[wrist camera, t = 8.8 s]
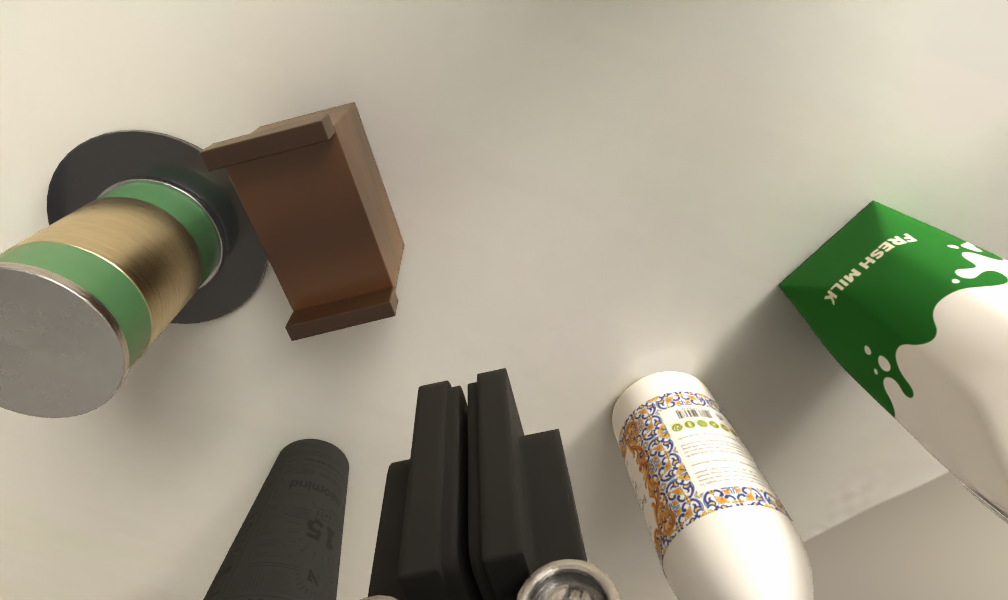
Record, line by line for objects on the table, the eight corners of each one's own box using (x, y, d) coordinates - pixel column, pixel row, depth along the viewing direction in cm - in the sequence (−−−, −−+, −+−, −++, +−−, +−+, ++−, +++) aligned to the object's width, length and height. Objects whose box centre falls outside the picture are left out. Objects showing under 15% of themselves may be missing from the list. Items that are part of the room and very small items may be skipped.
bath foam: (600, 383, 38) (724, 720, 20) (704, 355, 38) (921, 675, 20) (619, 458, 41) (739, 803, 24) (714, 433, 41) (909, 766, 23)
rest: (255, 116, 29) (198, 152, 22) (351, 91, 28) (321, 120, 22) (323, 274, 33) (291, 341, 27) (407, 253, 33) (395, 316, 26)
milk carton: (838, 359, 39) (1157, 669, 21) (755, 285, 35) (1050, 577, 18) (955, 265, 36) (1438, 532, 18) (876, 175, 33) (1369, 394, 15)
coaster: (3, 160, 29) (-1, 161, 29) (211, 105, 28) (209, 106, 28) (122, 340, 34) (119, 342, 34) (300, 296, 34) (299, 298, 33)
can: (138, 168, 32) (-141, 296, 24) (247, 140, 25) (-102, 310, 17) (205, 268, 35) (-23, 411, 27) (320, 269, 28) (54, 465, 20)
